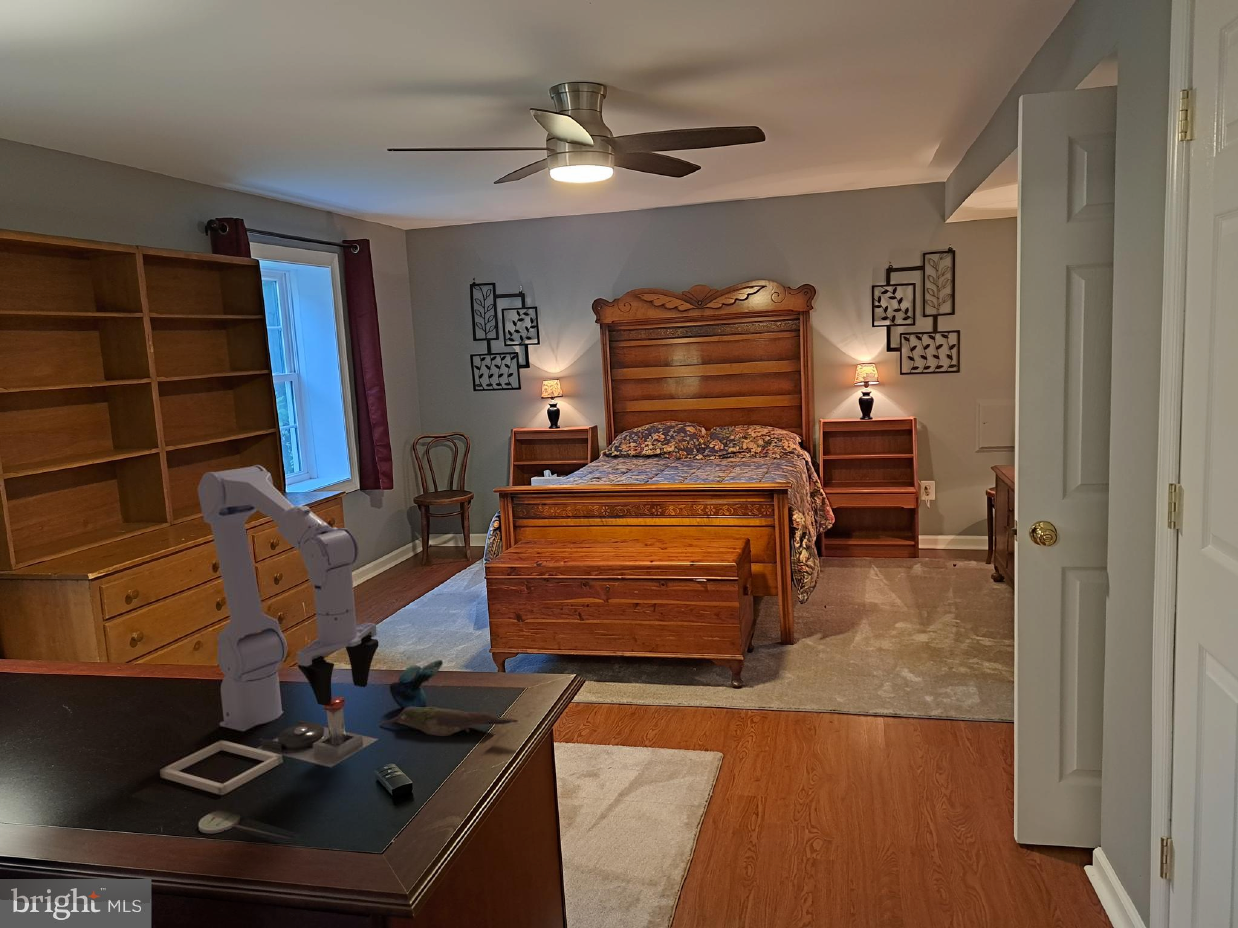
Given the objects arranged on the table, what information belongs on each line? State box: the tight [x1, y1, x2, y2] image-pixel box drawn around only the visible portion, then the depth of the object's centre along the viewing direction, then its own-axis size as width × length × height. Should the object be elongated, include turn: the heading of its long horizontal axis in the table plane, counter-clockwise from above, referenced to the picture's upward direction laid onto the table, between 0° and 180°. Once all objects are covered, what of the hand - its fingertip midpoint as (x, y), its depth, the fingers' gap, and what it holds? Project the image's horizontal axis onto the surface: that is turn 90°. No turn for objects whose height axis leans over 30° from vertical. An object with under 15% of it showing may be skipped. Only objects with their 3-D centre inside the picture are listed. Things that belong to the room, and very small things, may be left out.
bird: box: [378, 706, 519, 737], centre depth 141 cm, size 25×5×5 cm, turn 76°
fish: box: [389, 659, 444, 710], centre depth 149 cm, size 4×10×10 cm, turn 78°
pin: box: [322, 696, 346, 746], centre depth 135 cm, size 3×3×8 cm
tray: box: [159, 739, 284, 796], centre depth 131 cm, size 14×11×2 cm
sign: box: [197, 809, 293, 840], centre depth 116 cm, size 5×1×15 cm
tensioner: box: [255, 719, 379, 768], centre depth 138 cm, size 16×10×3 cm, turn 62°
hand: (342, 694), depth 135 cm, fingers open, 7 cm apart
